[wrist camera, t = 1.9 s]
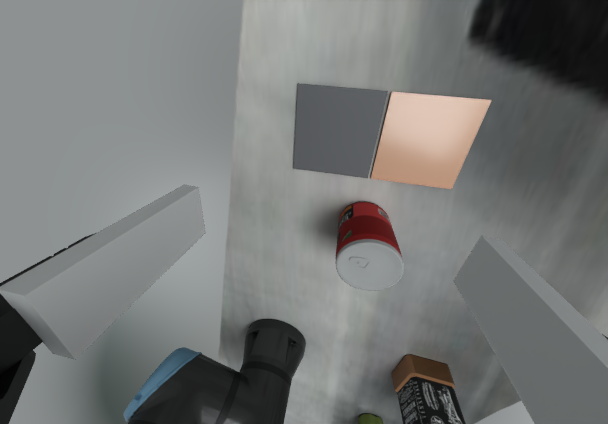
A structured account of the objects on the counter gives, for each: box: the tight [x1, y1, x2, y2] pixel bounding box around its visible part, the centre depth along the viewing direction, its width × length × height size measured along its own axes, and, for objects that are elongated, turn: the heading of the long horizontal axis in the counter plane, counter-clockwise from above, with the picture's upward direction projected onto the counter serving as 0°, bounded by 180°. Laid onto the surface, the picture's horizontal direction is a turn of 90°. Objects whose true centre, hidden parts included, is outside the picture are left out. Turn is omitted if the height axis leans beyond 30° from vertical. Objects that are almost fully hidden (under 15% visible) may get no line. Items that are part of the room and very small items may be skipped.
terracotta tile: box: [371, 92, 491, 189], centre depth 28 cm, size 11×11×1 cm
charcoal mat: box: [293, 84, 388, 178], centre depth 29 cm, size 11×11×1 cm
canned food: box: [336, 202, 404, 291], centre depth 30 cm, size 8×8×11 cm
